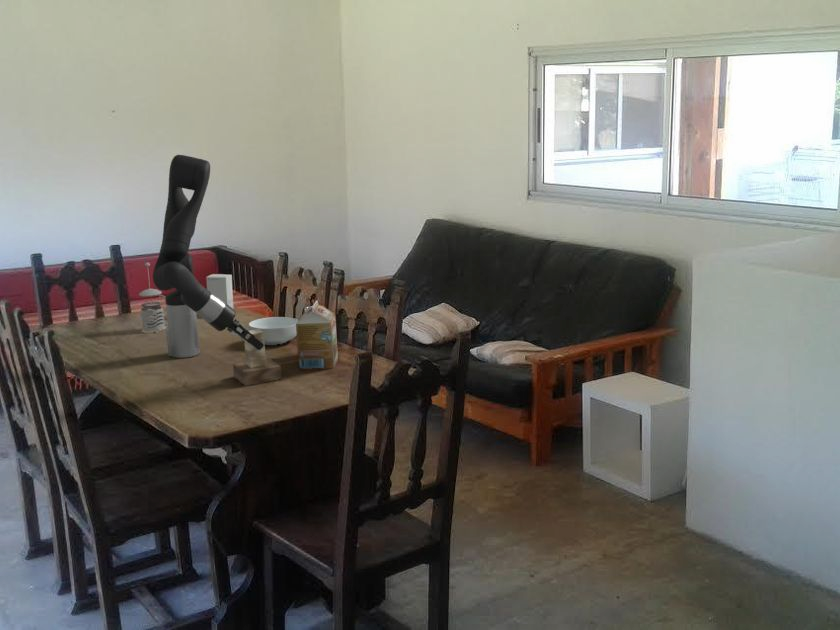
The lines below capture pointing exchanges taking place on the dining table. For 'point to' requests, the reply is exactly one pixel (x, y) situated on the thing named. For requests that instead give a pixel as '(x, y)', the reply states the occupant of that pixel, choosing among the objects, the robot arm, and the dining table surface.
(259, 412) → the dining table surface
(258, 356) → the beech block
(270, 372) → the walnut base
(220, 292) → the skincare box
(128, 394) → the dining table surface
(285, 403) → the dining table surface
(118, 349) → the dining table surface
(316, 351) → the milk carton
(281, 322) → the cereal bowl
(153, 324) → the french press
